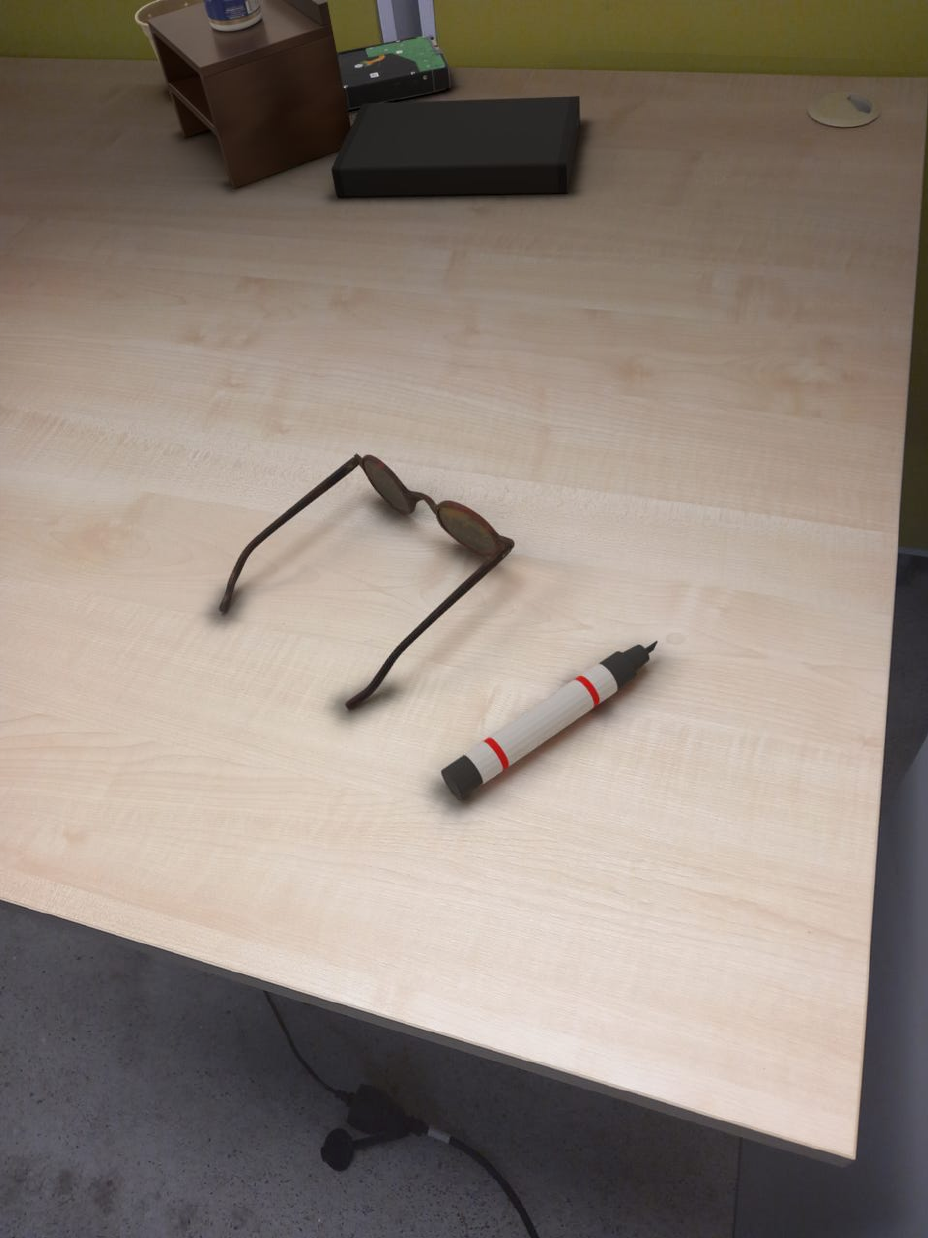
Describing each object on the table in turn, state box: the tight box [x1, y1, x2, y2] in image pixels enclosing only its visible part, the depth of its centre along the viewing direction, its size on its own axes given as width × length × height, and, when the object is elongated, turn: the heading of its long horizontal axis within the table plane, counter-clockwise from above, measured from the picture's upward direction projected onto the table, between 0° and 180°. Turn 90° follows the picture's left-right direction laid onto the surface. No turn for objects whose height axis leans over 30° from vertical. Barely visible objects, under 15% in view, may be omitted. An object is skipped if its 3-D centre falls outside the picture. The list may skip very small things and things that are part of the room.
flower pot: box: [134, 0, 203, 66], centre depth 120 cm, size 9×9×9 cm
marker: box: [440, 640, 659, 800], centre depth 59 cm, size 15×2×2 cm, turn 126°
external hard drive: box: [331, 95, 581, 198], centre depth 104 cm, size 14×23×3 cm, turn 81°
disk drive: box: [337, 34, 452, 111], centre depth 118 cm, size 10×3×15 cm
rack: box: [147, 0, 352, 189], centre depth 107 cm, size 14×16×14 cm
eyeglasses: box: [218, 452, 516, 710], centre depth 66 cm, size 15×15×5 cm
